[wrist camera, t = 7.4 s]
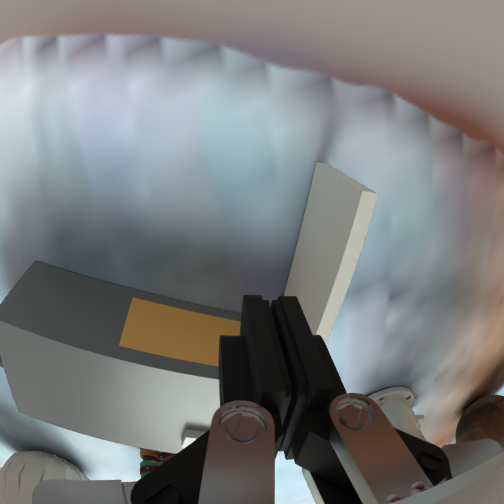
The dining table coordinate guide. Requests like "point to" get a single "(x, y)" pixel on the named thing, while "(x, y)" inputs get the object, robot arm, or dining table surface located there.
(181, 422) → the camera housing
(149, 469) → the binoculars
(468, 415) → the wooden sphere
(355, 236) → the side door
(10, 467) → the vase
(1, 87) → the dining table surface
